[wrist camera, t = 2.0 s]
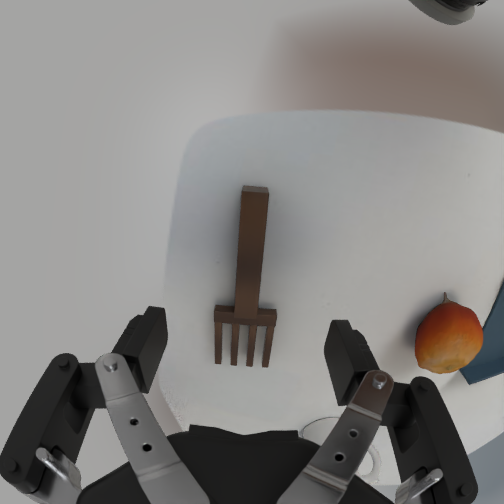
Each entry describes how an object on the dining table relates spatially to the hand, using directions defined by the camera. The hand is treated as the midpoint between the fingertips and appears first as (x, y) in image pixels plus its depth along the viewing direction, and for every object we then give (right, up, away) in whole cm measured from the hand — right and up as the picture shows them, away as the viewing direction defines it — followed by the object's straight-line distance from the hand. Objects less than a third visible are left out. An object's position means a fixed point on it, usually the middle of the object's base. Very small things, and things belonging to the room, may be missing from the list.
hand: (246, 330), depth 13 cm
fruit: (+20, -4, +12) cm, 24 cm away
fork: (0, +1, +10) cm, 11 cm away
